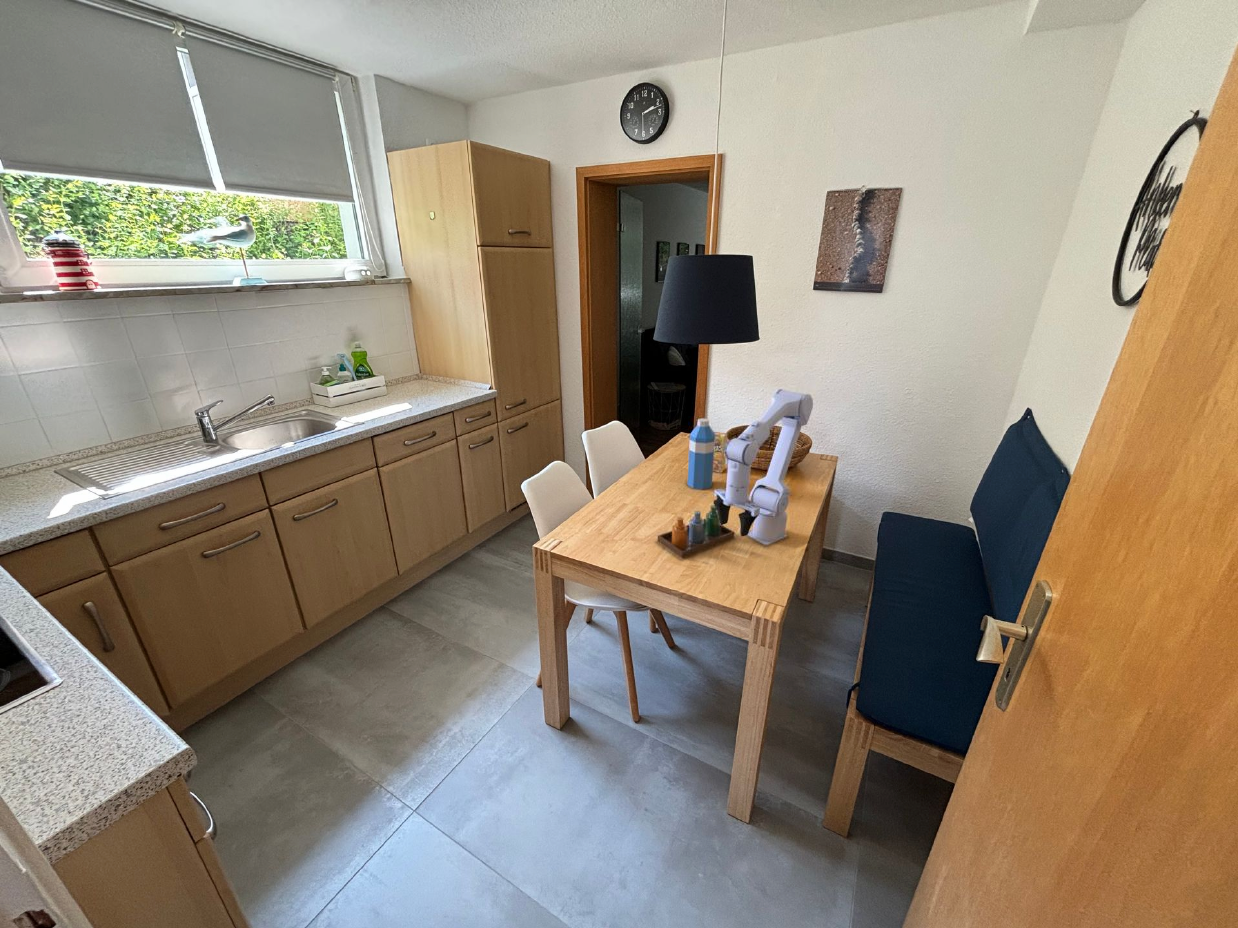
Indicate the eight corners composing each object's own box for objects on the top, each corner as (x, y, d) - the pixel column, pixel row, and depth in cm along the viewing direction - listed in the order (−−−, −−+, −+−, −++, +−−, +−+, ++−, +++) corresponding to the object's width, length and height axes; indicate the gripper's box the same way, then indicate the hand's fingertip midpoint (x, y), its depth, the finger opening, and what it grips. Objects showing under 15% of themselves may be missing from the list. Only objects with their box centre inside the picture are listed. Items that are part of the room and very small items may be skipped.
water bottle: (695, 477, 192) (698, 414, 183) (717, 483, 186) (721, 419, 177) (682, 485, 185) (685, 420, 176) (704, 491, 180) (708, 425, 170)
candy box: (700, 469, 199) (702, 433, 194) (703, 465, 203) (705, 430, 197) (721, 473, 195) (724, 436, 190) (724, 469, 199) (727, 433, 193)
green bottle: (712, 528, 154) (714, 501, 151) (722, 533, 151) (724, 507, 147) (701, 532, 152) (703, 505, 148) (711, 538, 148) (713, 511, 145)
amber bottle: (680, 540, 147) (681, 513, 144) (689, 546, 144) (691, 519, 140) (668, 544, 145) (669, 517, 142) (678, 551, 142) (679, 523, 138)
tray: (708, 523, 157) (708, 517, 157) (733, 538, 149) (734, 532, 148) (657, 542, 147) (657, 535, 146) (682, 559, 138) (682, 552, 138)
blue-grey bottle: (696, 533, 151) (698, 507, 147) (706, 540, 147) (708, 513, 144) (685, 538, 148) (686, 511, 145) (695, 544, 145) (696, 517, 142)
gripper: (707, 478, 134) (704, 522, 139) (747, 497, 122) (743, 545, 127) (726, 472, 137) (722, 515, 142) (767, 490, 126) (762, 537, 131)
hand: (733, 529), depth 135 cm, fingers open, 7 cm apart
